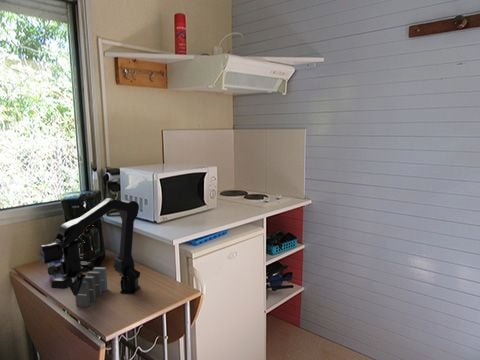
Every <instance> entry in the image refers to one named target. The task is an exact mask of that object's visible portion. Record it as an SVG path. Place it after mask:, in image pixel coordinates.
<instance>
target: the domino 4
mask: <svg viewBox="0 0 480 360" xmlns="http://www.w3.org/2000/svg"><path fill="white" fill-rule="evenodd" d="M92 271H93V272H100V275H101V287H102V292H106V291H108V277H107V276H108V275H107V267H98V266H94V269H92Z"/></svg>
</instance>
